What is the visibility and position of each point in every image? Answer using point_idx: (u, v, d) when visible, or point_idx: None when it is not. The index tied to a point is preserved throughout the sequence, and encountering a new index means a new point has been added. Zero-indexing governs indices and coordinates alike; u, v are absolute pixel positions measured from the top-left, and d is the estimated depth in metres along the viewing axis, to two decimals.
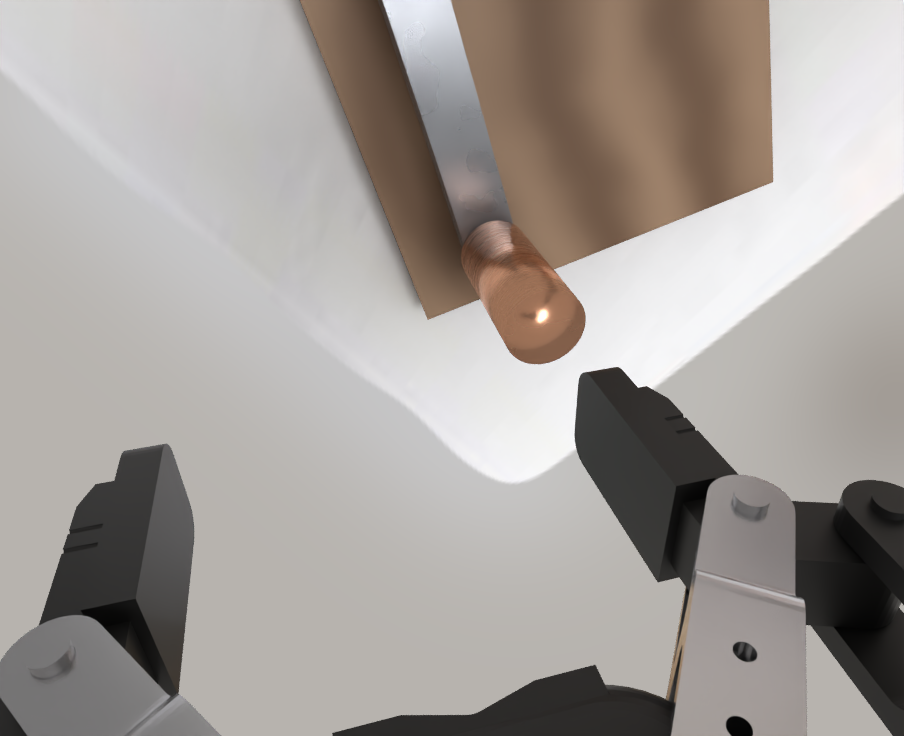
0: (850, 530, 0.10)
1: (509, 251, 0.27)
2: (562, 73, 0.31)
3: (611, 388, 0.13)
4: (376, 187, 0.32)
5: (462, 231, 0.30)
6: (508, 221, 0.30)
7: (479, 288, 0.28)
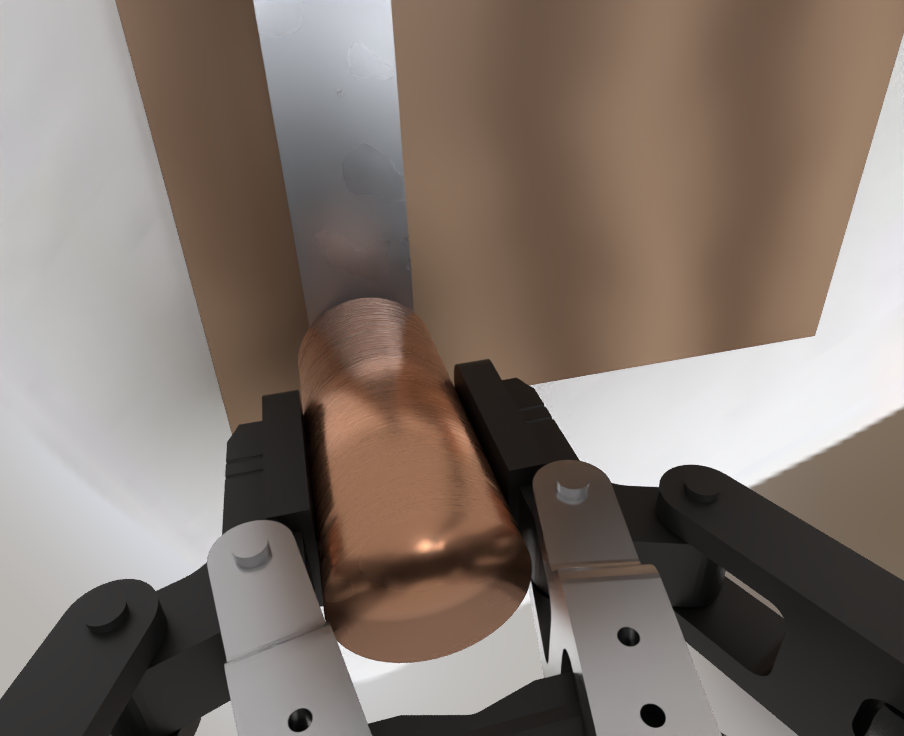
0: (677, 523, 0.10)
1: (389, 375, 0.12)
2: (558, 68, 0.17)
3: (476, 379, 0.13)
4: (166, 178, 0.16)
5: (310, 304, 0.15)
6: (406, 305, 0.15)
7: (309, 437, 0.13)
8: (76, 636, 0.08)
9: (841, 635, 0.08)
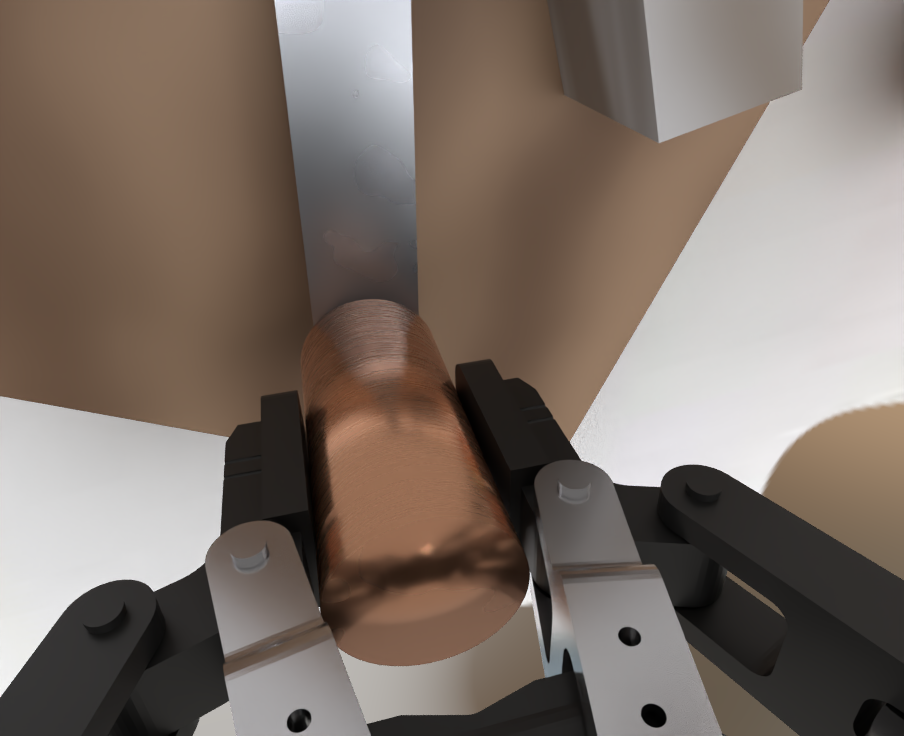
0: (679, 523, 0.10)
1: (394, 377, 0.12)
2: None
3: (477, 378, 0.13)
4: None
5: (315, 302, 0.15)
6: (410, 308, 0.15)
7: (310, 436, 0.13)
8: (74, 637, 0.08)
9: (843, 635, 0.08)
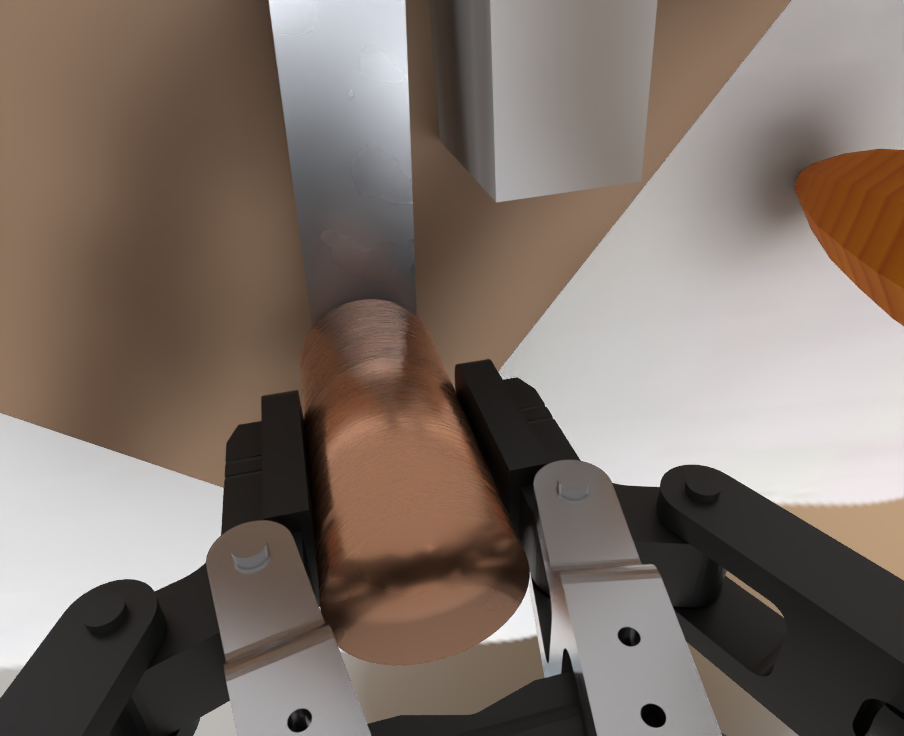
0: (678, 523, 0.10)
1: (392, 377, 0.12)
2: (219, 140, 0.16)
3: (476, 378, 0.13)
4: None
5: (313, 303, 0.15)
6: (408, 308, 0.15)
7: (309, 437, 0.13)
8: (75, 637, 0.08)
9: (842, 635, 0.08)
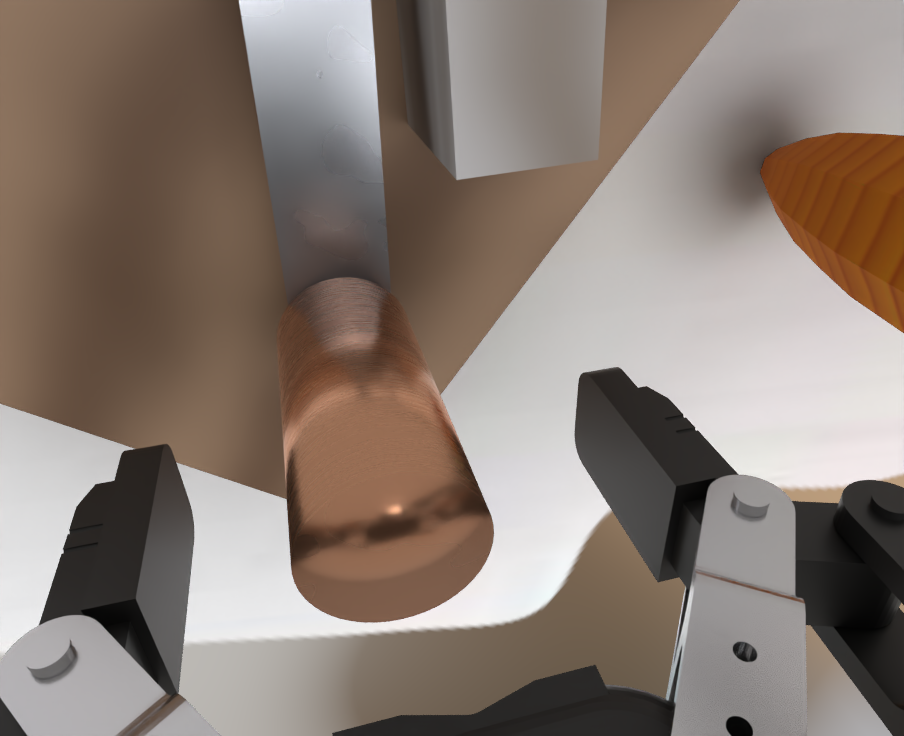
0: (850, 530, 0.10)
1: (362, 347, 0.13)
2: (190, 124, 0.16)
3: (611, 388, 0.13)
4: None
5: (289, 282, 0.15)
6: (382, 286, 0.16)
7: (283, 408, 0.13)
8: None
9: None
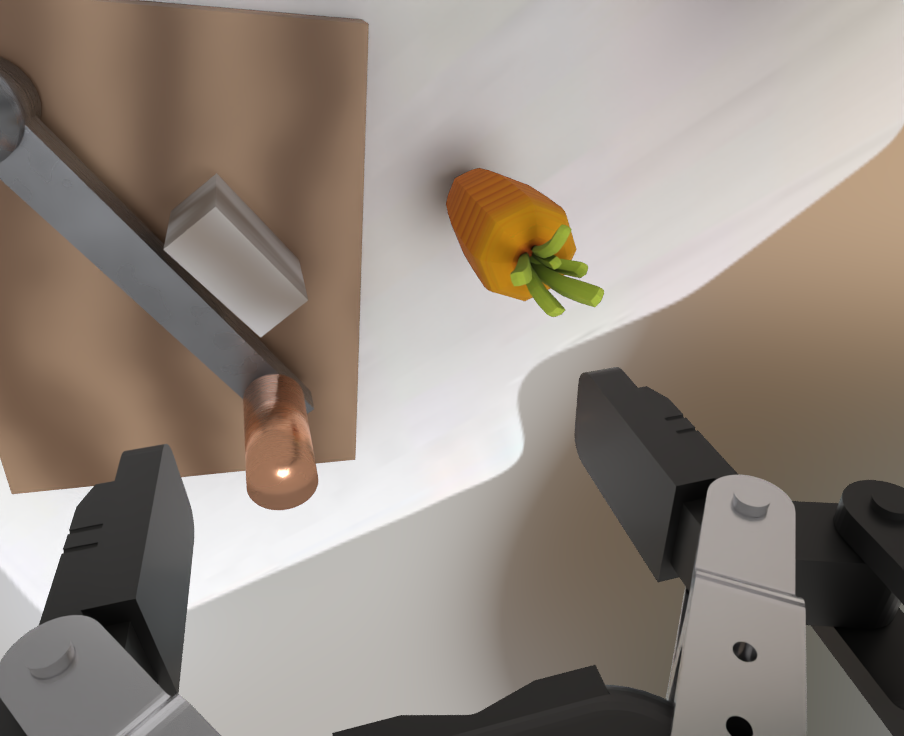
0: (850, 530, 0.10)
1: (258, 415, 0.33)
2: (175, 343, 0.37)
3: (611, 388, 0.13)
4: None
5: (237, 391, 0.36)
6: (273, 374, 0.36)
7: None
8: None
9: None
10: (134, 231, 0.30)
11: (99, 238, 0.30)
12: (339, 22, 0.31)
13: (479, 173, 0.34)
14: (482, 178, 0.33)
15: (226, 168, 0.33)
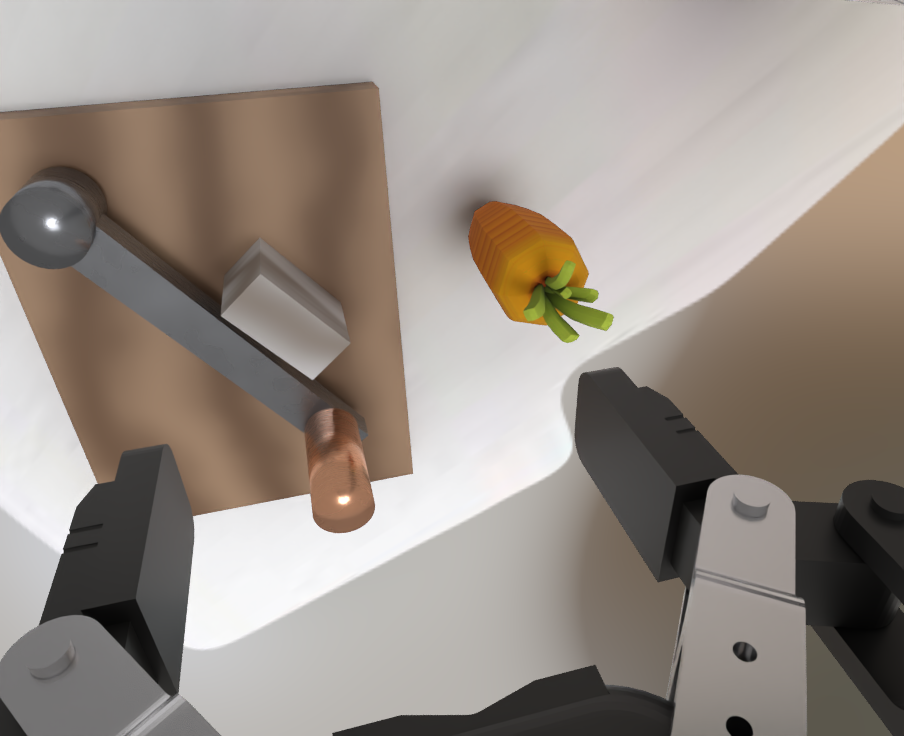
0: (850, 530, 0.10)
1: (318, 448, 0.37)
2: (241, 388, 0.41)
3: (611, 388, 0.13)
4: (80, 438, 0.40)
5: (298, 427, 0.40)
6: (328, 408, 0.40)
7: None
8: None
9: None
10: (195, 301, 0.34)
11: (165, 310, 0.34)
12: (352, 91, 0.34)
13: (495, 207, 0.37)
14: (497, 213, 0.36)
15: (267, 232, 0.37)
